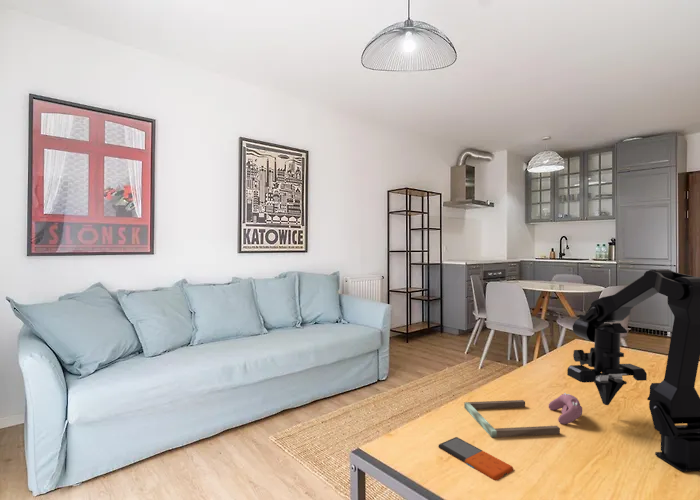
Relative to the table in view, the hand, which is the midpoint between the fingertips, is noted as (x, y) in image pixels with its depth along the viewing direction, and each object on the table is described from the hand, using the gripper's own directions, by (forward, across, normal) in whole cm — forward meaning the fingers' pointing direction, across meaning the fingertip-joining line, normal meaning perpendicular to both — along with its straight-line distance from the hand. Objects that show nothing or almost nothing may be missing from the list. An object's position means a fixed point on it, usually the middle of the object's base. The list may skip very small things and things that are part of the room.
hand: (605, 404), depth 104 cm
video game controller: (+3, +11, 0) cm, 12 cm away
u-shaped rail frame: (+3, +27, 0) cm, 27 cm away
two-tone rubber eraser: (+4, +44, +16) cm, 47 cm away
